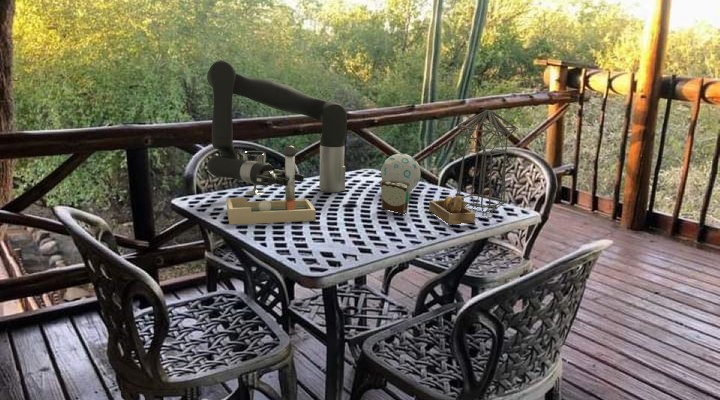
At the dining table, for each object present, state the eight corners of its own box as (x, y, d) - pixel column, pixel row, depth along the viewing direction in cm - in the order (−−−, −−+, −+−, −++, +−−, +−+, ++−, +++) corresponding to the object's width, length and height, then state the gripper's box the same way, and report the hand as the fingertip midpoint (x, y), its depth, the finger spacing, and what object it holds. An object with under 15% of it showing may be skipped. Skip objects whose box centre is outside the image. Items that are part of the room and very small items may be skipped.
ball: (270, 210, 187) (270, 198, 186) (272, 213, 184) (272, 201, 183) (258, 211, 186) (257, 199, 185) (259, 214, 183) (259, 202, 182)
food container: (418, 212, 196) (419, 183, 193) (406, 216, 191) (408, 186, 189) (390, 205, 204) (391, 177, 201) (378, 208, 199) (379, 180, 197)
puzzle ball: (374, 194, 218) (375, 155, 214) (387, 186, 232) (389, 149, 228) (412, 199, 213) (415, 159, 209) (424, 190, 226) (426, 152, 222)
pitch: (307, 209, 196) (307, 195, 194) (315, 220, 183) (315, 205, 182) (227, 213, 188) (226, 198, 187) (229, 224, 176) (229, 209, 175)
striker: (295, 207, 190) (295, 144, 184) (297, 210, 185) (297, 146, 180) (282, 207, 189) (282, 144, 183) (284, 211, 184) (284, 146, 179)
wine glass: (241, 191, 217) (240, 151, 213) (262, 189, 220) (262, 150, 216) (247, 196, 210) (246, 155, 206) (268, 194, 213) (268, 154, 210)
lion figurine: (467, 224, 184) (469, 197, 182) (451, 225, 183) (453, 198, 180) (449, 212, 198) (450, 186, 195) (434, 212, 196) (436, 186, 194)
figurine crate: (452, 211, 199) (453, 199, 198) (474, 225, 183) (475, 213, 182) (429, 212, 197) (429, 200, 196) (449, 226, 181) (450, 214, 180)
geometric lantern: (447, 213, 196) (454, 109, 187) (472, 205, 207) (480, 106, 198) (488, 224, 185) (498, 114, 176) (512, 214, 197) (522, 110, 188)
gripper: (241, 165, 186) (279, 172, 177) (271, 158, 197) (309, 165, 188) (241, 187, 187) (280, 196, 179) (272, 180, 199) (309, 188, 190)
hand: (295, 180), depth 183 cm, fingers open, 7 cm apart
